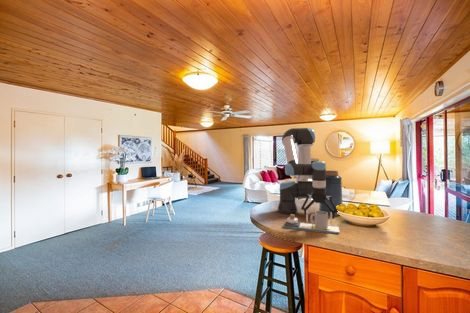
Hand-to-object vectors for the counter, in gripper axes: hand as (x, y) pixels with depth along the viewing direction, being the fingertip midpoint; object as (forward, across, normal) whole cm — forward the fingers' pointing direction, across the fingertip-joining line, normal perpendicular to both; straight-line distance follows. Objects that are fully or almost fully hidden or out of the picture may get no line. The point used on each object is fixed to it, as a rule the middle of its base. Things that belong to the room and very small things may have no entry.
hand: (318, 222), depth 132 cm
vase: (+4, +8, +39) cm, 40 cm away
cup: (+3, 0, 0) cm, 3 cm away
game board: (+4, -5, 0) cm, 6 cm away
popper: (+1, -16, 0) cm, 16 cm away
